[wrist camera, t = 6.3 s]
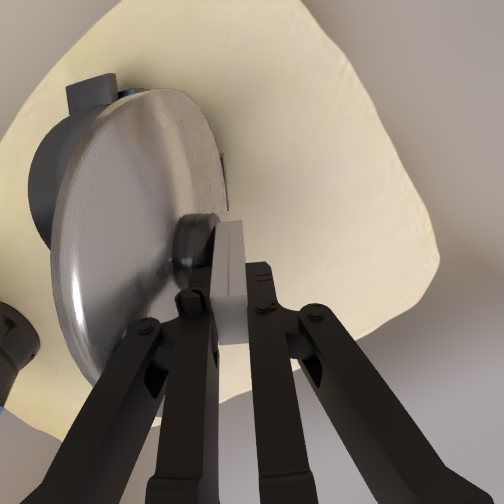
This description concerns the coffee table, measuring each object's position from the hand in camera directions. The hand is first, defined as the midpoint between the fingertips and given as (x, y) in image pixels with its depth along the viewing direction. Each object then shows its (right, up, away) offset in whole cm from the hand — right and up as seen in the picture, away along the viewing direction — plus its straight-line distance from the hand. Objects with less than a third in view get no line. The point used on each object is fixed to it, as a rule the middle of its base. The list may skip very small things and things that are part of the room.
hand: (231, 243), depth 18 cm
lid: (-4, 0, 0) cm, 4 cm away
